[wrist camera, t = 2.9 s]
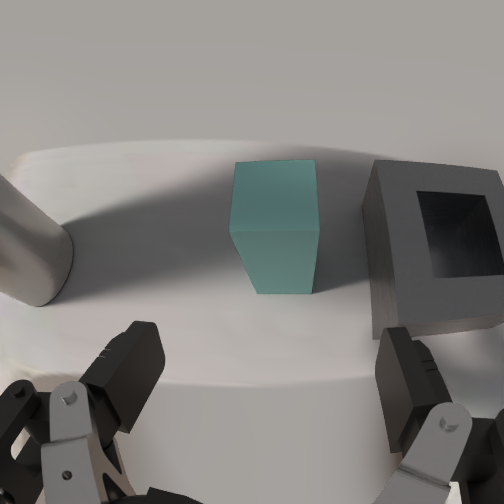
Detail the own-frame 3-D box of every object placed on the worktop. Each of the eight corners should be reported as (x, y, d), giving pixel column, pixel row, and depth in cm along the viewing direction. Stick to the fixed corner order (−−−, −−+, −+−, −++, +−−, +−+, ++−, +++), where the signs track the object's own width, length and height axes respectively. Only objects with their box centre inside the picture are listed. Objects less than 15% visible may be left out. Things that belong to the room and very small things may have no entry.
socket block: (372, 339, 20) (398, 324, 14) (361, 206, 24) (374, 159, 19) (491, 327, 18) (535, 308, 13) (468, 209, 23) (497, 170, 17)
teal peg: (257, 294, 23) (228, 231, 14) (259, 245, 24) (235, 162, 15) (311, 294, 22) (319, 230, 13) (310, 244, 24) (314, 159, 15)
